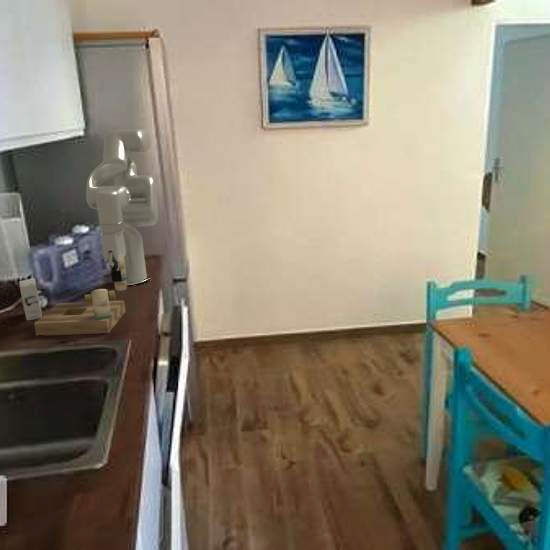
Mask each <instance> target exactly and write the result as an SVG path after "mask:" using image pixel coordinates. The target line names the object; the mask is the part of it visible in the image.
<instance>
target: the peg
mask: <svg viewBox="0 0 550 550" xmlns="http://www.w3.org/2000/svg"><path fill="white" fill-rule="evenodd" d="M113 262H117V261H116V260H114V261H113ZM114 265H116V266H117V264H116V263H115V264H114ZM119 270H121V276H122V281H121V282H113V283H114V291H116V292H122V291H125V290H127V289H128V286H127V284H126V278H127V275H126V268H125V261H124V255H123V256H122V259H121V260H120V261H119Z"/></svg>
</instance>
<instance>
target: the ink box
mask: <svg viewBox="0 0 550 550" xmlns="http://www.w3.org/2000/svg"><path fill="white" fill-rule="evenodd" d="M19 289H20V290H19V291H20V294H21V300H22V301H21V302H22V305H23V310H24V314H25V319H26V321H31V320H39V319H40V318H41V317H43V313H42V308H41V304H40V303H41V302H40V298H39V292H38V287H37V284H36V279H35V278H28V279H24V280H19Z"/></svg>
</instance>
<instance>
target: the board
mask: <svg viewBox="0 0 550 550" xmlns="http://www.w3.org/2000/svg"><path fill="white" fill-rule="evenodd" d="M90 295H91V297H92V302H85V301H81V302H80V301H79V302H58V303H56V304H55V305H54V307H52V308H51V309H49V310H48V311H47V312H46V313H45V314H44V315H42V317H41V318H38V319H37V320H36V321H35V322H34V323H33V324H34V325H33V326H34V331H35V336H36V337H39V336H38V335H45V336H63V335H64V336H65V335H66V336H69V335H87V334H88V335H91V334H92V335H93V334H94V335H95V334H110V332H111V330H112V329H113V328H114V327H115V326H116V324H117V323H118V322H119V320H121V318H122V317H123V316H124V314H125V313H126V306H125V301H124V300H116V301H109V298H108V289H106V288H101V289H97V290H92V291H91V292H90Z"/></svg>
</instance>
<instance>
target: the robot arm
mask: <svg viewBox="0 0 550 550" xmlns="http://www.w3.org/2000/svg"><path fill="white" fill-rule="evenodd" d="M103 141H104V142H103V150H102V151H103V152H102V154H103V155H102V162H101V163H99V164H98V165H97V166H96V167H95V168H94V169H93V170H92V171H91V173H90V174H89V175H88V178H87V182H86V191H85V199H86V203H87V206H89V208H91V209H94V210H97V215H98V223H99V228H100V233H101V234H102V235H101V237H102V239H101V240H102V252H103V260H104V263H106V264H108V267H109V269H110V275H111V280H112V282H113V283H114V282H121V281H122V276H121V270H119V261H120V260H121V259H122V256H123V255H124V261H125V268H126V275H127V278H126V284H127V287H128V286H129V285H133V286H135V285H134V284H138V283H141V282H144V281H146V280H148V279H150V278H148V279H146V278H147V275H148V274H147V268H146V267H147V266H146V260H145V251H144V242H143V237H142V234H141V233H140V232H139V231H138V230H137V229H136V228H137V227H151V226H154V225H156V224H157V223H158V221H159V205H158V189H157V183H156V180H155V178H154V177H153V176H151V175H149V174H148V175H147V174H145V175H144V174H143V175H142V174H141V175H137V170H138V169H137V164H136V162H135V161H134V160H133V159H132V158H131V157H130V156H129V154H135V153H137V154H138V153H145V152H148V150H149V149H150V147H151V138H150V133H149V132H148V130H146V129H145V128H133V129H132V128H129V129H128V128H127V129H113V130H110V131H107V132H106V133H104V135H103ZM112 179H114V185H102V184H103V183H105V182H106V181H110V180H112ZM114 260H116V261H117V262H113V261H114ZM115 263H116V264H117V266H116V265H114V264H115ZM144 279H145V280H144Z"/></svg>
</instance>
